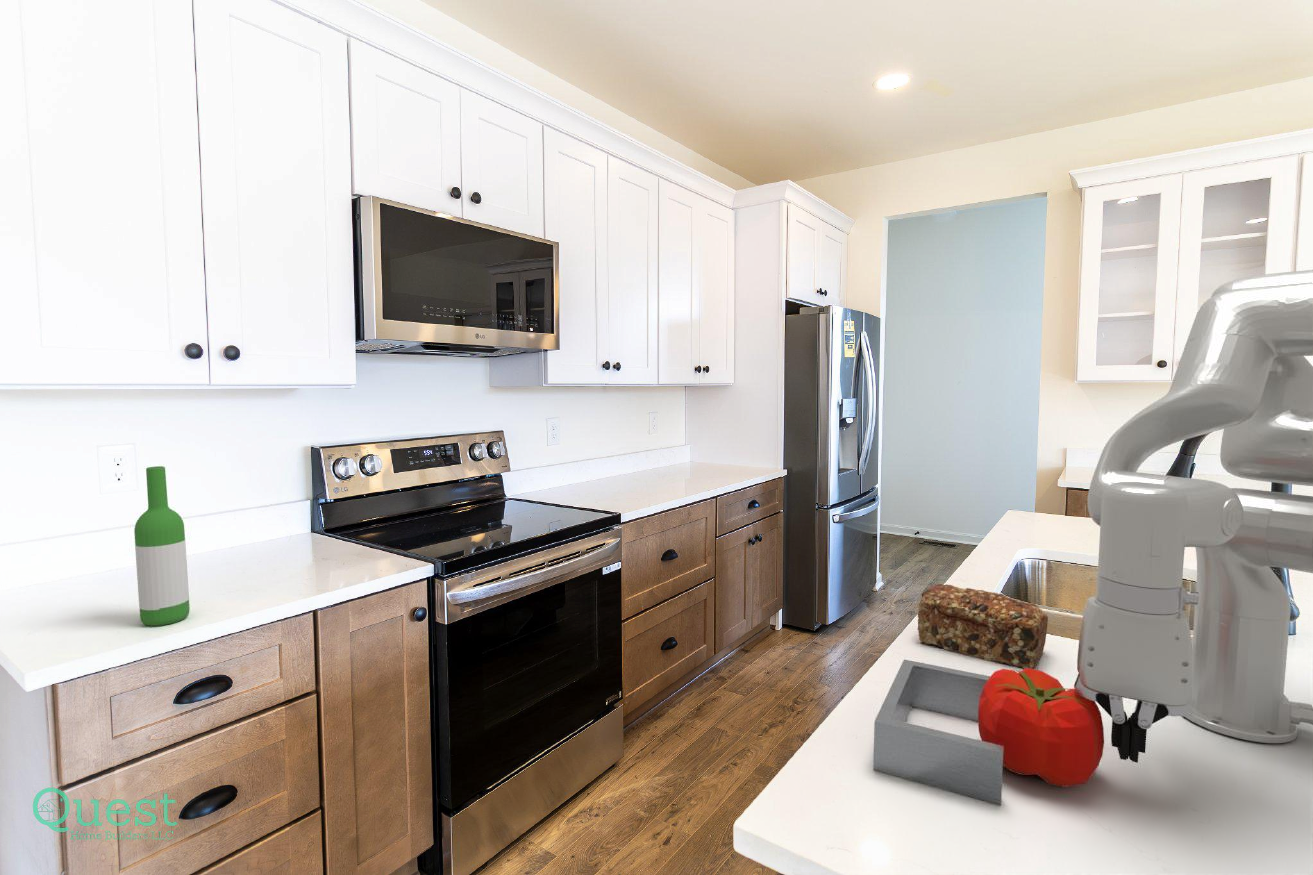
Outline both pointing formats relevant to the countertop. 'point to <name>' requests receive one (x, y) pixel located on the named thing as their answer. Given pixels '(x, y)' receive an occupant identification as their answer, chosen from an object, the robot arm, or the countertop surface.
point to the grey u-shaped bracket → (937, 733)
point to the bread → (982, 625)
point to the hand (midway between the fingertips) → (1127, 754)
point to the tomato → (1041, 726)
